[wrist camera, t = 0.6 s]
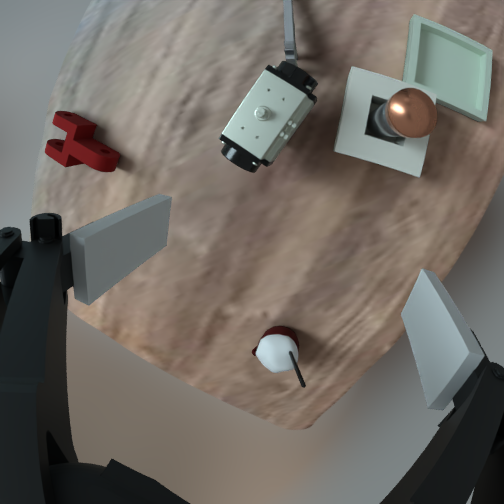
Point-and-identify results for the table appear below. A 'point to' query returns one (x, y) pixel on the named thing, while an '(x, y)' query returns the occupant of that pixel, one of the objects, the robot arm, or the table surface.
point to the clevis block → (357, 134)
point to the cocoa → (279, 351)
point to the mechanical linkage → (80, 144)
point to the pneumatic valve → (268, 116)
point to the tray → (449, 67)
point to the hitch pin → (404, 115)
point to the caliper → (289, 33)
